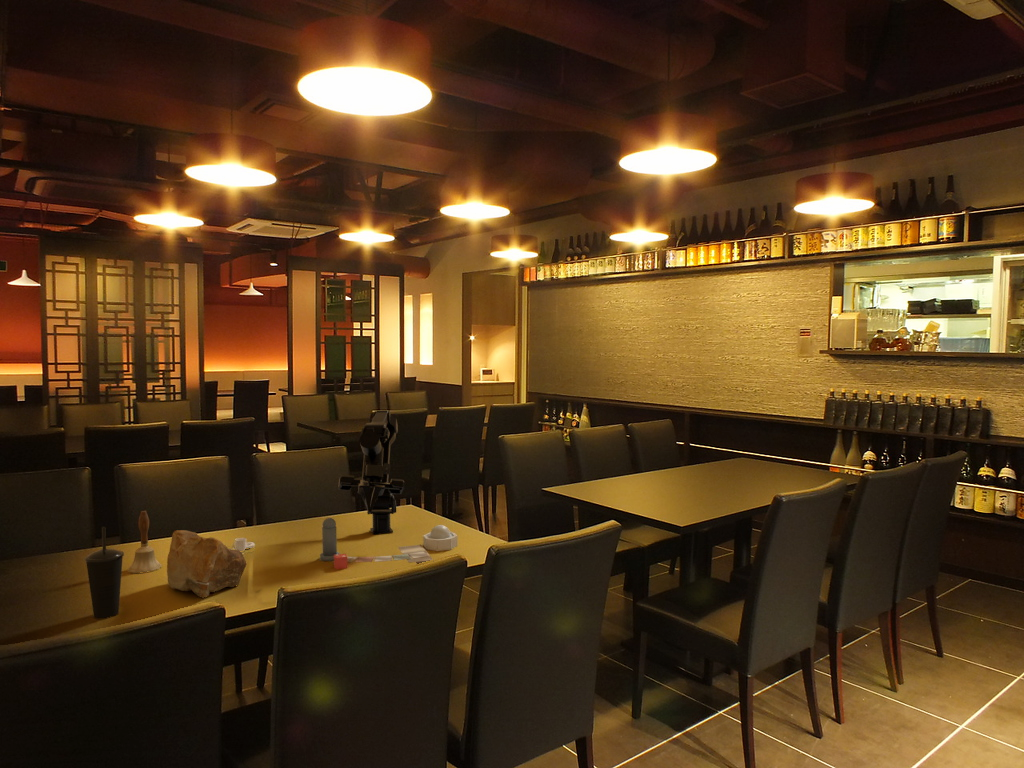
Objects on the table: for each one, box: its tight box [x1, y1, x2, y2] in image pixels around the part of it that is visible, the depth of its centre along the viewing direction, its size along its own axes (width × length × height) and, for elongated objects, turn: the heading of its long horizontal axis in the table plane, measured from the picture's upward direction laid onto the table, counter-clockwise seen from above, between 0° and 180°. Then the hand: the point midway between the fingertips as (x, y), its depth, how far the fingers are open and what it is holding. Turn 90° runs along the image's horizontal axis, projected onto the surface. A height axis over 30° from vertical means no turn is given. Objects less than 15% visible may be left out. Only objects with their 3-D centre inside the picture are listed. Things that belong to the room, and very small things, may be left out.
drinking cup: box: [84, 526, 125, 619], centre depth 157 cm, size 8×8×20 cm
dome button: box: [428, 524, 452, 539], centre depth 211 cm, size 7×7×6 cm
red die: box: [333, 553, 348, 570], centre depth 187 cm, size 3×3×3 cm
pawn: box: [319, 517, 340, 562], centre depth 195 cm, size 5×5×11 cm
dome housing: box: [422, 531, 458, 552], centre depth 211 cm, size 10×10×3 cm
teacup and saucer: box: [232, 537, 256, 551], centre depth 206 cm, size 9×8×4 cm
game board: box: [318, 544, 434, 565], centre depth 196 cm, size 16×30×1 cm, turn 110°
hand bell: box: [127, 510, 163, 574], centre depth 190 cm, size 8×8×16 cm
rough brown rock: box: [166, 529, 247, 599], centre depth 174 cm, size 23×16×15 cm
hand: (369, 512), depth 201 cm, fingers closed
